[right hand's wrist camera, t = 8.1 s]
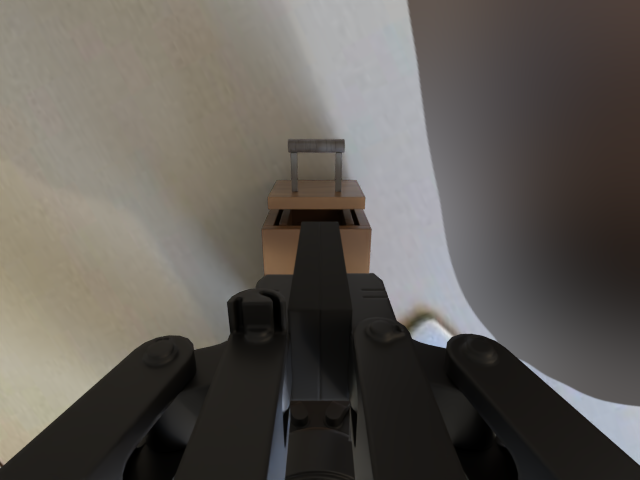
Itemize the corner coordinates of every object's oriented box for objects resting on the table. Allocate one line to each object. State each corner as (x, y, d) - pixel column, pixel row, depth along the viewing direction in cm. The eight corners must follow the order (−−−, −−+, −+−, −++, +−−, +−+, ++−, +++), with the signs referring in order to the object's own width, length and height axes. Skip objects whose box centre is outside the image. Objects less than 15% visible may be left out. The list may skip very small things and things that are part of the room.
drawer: (274, 134, 38) (264, 141, 31) (358, 134, 38) (367, 141, 31) (282, 304, 46) (275, 341, 39) (351, 304, 46) (358, 341, 39)
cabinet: (273, 201, 42) (261, 229, 33) (359, 201, 42) (371, 228, 33) (279, 326, 48) (270, 378, 39) (354, 326, 48) (363, 377, 39)
